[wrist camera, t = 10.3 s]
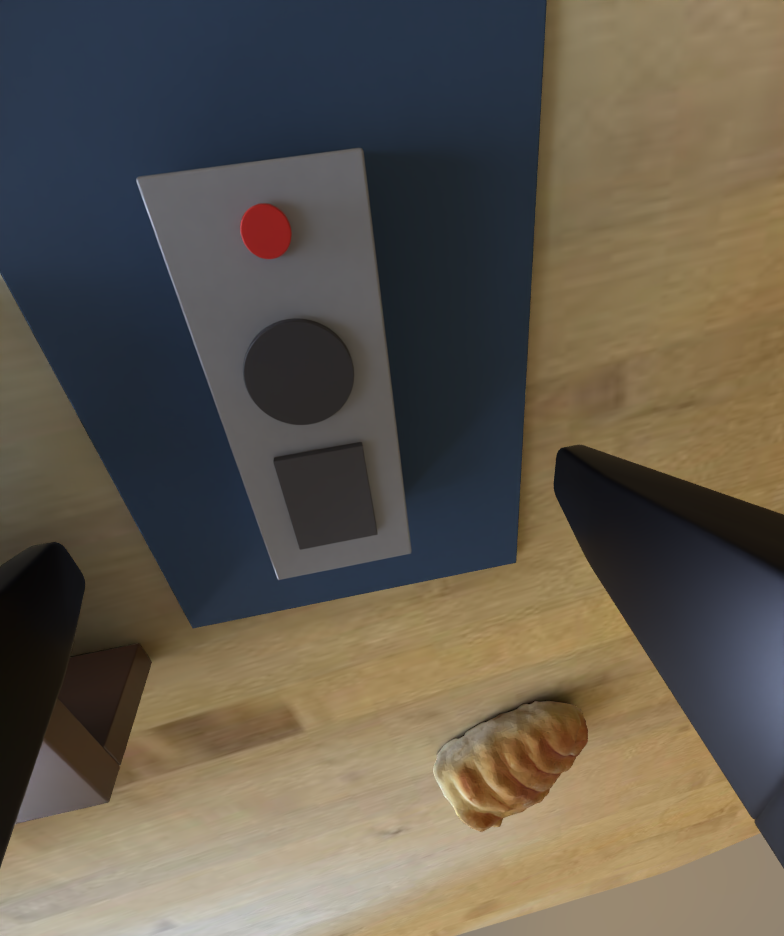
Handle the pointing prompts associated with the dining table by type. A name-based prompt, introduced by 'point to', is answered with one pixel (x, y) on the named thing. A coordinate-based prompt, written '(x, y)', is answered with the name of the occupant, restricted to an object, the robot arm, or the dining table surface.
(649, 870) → the dining table surface
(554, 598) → the dining table surface
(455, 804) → the pastry
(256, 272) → the remote
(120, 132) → the placemat
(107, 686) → the bench
